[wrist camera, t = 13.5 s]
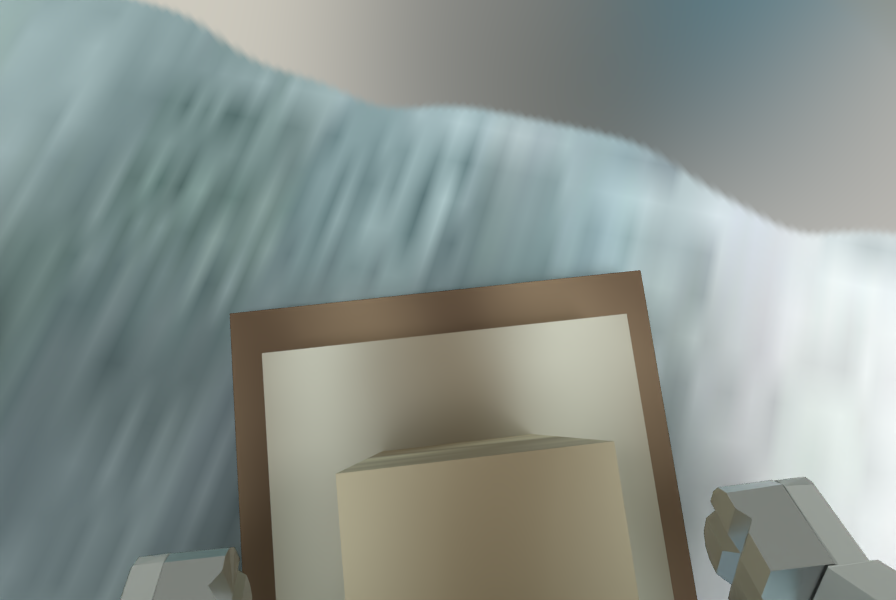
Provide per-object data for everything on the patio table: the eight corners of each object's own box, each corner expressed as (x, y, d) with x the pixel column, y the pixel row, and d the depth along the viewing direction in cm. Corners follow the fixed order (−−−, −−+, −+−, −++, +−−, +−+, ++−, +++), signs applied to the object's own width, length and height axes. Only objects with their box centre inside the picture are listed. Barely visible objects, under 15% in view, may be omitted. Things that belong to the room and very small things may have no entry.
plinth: (269, 746, 21) (204, 872, 15) (246, 323, 24) (184, 288, 18) (692, 691, 22) (788, 790, 16) (623, 282, 24) (684, 236, 18)
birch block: (396, 613, 16) (359, 790, 8) (381, 451, 17) (335, 473, 9) (553, 594, 16) (663, 749, 9) (532, 434, 17) (613, 441, 9)
